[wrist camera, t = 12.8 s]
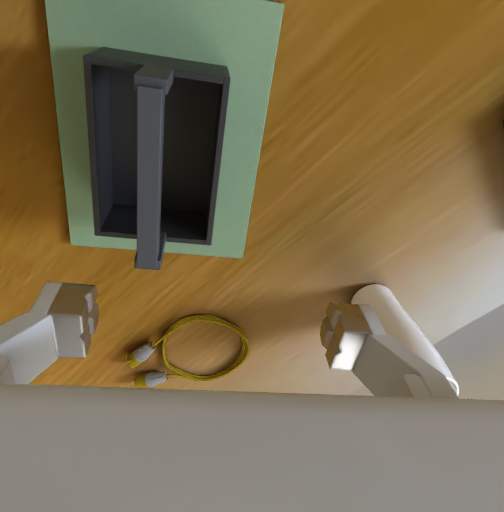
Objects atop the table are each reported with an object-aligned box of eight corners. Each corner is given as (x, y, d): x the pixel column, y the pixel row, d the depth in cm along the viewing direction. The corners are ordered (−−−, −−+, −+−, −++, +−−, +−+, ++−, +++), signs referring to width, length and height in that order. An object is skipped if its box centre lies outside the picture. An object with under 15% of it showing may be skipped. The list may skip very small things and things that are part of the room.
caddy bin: (102, 46, 31) (59, 64, 22) (227, 66, 33) (234, 91, 24) (109, 205, 39) (78, 268, 30) (211, 215, 40) (211, 277, 31)
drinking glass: (403, 277, 48) (472, 375, 36) (388, 319, 52) (445, 421, 39) (350, 276, 47) (401, 375, 35) (338, 319, 51) (380, 423, 38)
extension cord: (123, 310, 47) (119, 322, 45) (253, 314, 49) (255, 325, 47) (128, 379, 53) (125, 392, 52) (243, 380, 56) (244, 391, 54)
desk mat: (43, -41, 29) (39, -42, 28) (283, 3, 32) (284, 3, 31) (72, 241, 41) (70, 245, 41) (242, 254, 44) (242, 258, 43)
